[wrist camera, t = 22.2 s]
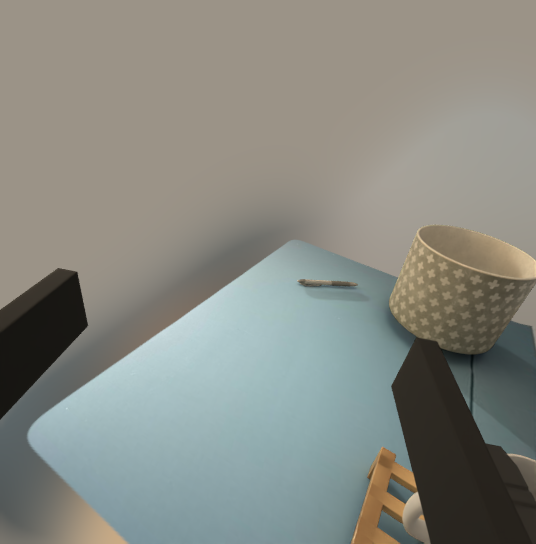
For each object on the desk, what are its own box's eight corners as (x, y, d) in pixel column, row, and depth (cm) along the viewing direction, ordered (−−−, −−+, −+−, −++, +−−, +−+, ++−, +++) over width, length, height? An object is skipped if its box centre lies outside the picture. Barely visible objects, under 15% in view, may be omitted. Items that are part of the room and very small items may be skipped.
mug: (509, 533, 30) (584, 473, 25) (554, 671, 23) (674, 629, 17) (381, 488, 32) (423, 422, 27) (385, 602, 25) (444, 545, 19)
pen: (296, 283, 71) (297, 277, 70) (356, 286, 73) (357, 281, 72) (297, 285, 70) (298, 280, 69) (357, 289, 72) (359, 284, 71)
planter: (406, 363, 54) (453, 272, 45) (371, 296, 70) (400, 219, 61) (509, 370, 56) (574, 284, 47) (452, 304, 72) (492, 230, 63)
